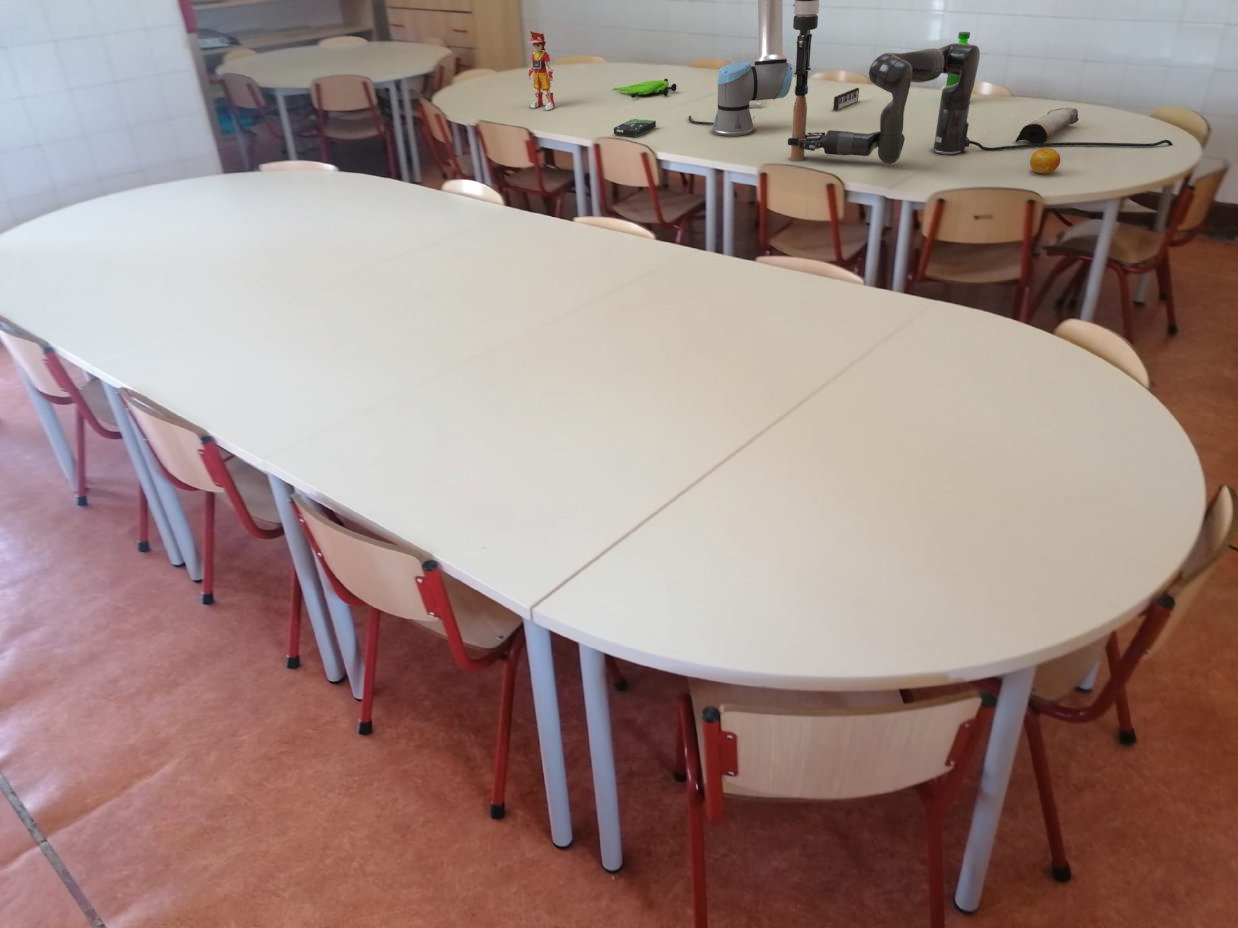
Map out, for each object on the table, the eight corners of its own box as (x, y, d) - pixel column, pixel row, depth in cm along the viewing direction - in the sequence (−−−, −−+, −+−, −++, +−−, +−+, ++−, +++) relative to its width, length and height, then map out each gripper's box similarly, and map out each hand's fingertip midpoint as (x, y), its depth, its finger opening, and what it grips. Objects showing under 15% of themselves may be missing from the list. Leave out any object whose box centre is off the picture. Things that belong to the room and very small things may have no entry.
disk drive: (636, 138, 336) (656, 127, 346) (636, 130, 334) (656, 120, 344) (613, 135, 340) (633, 125, 351) (613, 128, 339) (633, 118, 349)
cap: (794, 95, 291) (794, 88, 290) (794, 92, 294) (795, 85, 293) (807, 95, 290) (808, 88, 289) (807, 92, 294) (808, 85, 292)
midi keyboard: (835, 110, 353) (837, 97, 350) (833, 110, 354) (834, 97, 351) (858, 101, 363) (859, 88, 361) (855, 101, 364) (856, 88, 361)
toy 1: (525, 109, 381) (517, 32, 364) (534, 104, 388) (527, 28, 371) (550, 110, 377) (543, 32, 360) (559, 105, 384) (553, 28, 367)
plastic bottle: (973, 101, 354) (984, 32, 339) (955, 106, 349) (966, 36, 335) (952, 97, 361) (962, 29, 346) (934, 102, 356) (944, 33, 342)
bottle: (806, 159, 303) (810, 89, 290) (794, 161, 302) (798, 90, 289) (799, 156, 307) (804, 86, 294) (788, 158, 306) (792, 88, 293)
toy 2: (686, 85, 398) (631, 84, 414) (685, 72, 395) (629, 72, 411) (651, 104, 381) (596, 103, 397) (650, 92, 378) (594, 91, 394)
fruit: (1025, 163, 276) (1043, 140, 272) (1023, 166, 283) (1041, 143, 280) (1048, 179, 274) (1067, 155, 271) (1046, 181, 282) (1064, 158, 279)
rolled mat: (1045, 112, 323) (1070, 95, 315) (1059, 134, 324) (1084, 117, 315) (1011, 136, 306) (1036, 118, 298) (1025, 158, 306) (1051, 141, 298)
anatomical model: (728, 79, 370) (752, 73, 369) (732, 105, 376) (756, 98, 375) (735, 87, 358) (759, 81, 357) (739, 114, 364) (763, 107, 363)
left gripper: (798, 10, 287) (794, 87, 300) (788, 19, 274) (784, 100, 287) (822, 10, 285) (817, 88, 298) (813, 19, 272) (808, 100, 285)
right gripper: (847, 125, 298) (797, 122, 305) (836, 137, 288) (784, 133, 295) (845, 148, 303) (795, 145, 309) (834, 160, 292) (783, 156, 299)
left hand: (801, 94), depth 292 cm, fingers closed on cap, 4 cm apart
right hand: (790, 139), depth 302 cm, fingers closed on bottle, 4 cm apart
